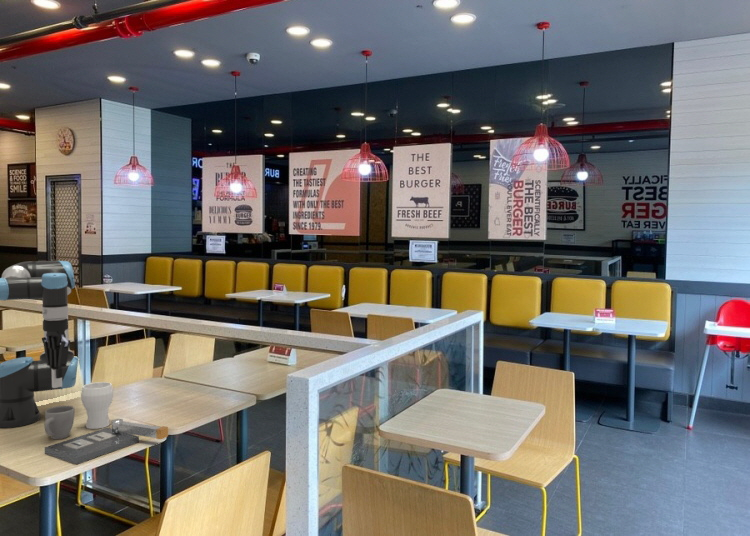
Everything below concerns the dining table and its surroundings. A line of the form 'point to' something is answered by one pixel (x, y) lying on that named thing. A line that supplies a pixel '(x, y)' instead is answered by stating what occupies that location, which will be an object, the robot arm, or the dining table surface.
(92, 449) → the chassis
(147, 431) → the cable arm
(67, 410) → the mug
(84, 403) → the cup
